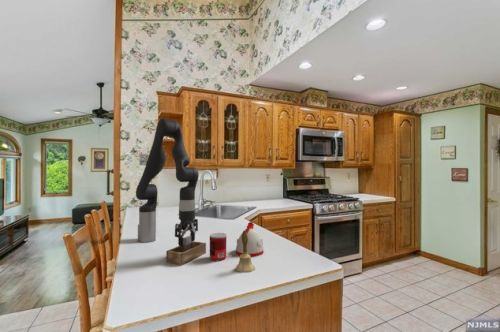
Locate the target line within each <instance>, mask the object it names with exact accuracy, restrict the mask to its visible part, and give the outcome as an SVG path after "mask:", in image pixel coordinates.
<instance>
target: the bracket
mask: <svg viewBox="0 0 500 332" xmlns="http://www.w3.org/2000/svg"><path fill="white" fill-rule="evenodd" d="M189 249H191V236H190V235H187V236H185V237H184V236H183V252H185V251H187V250H189ZM183 252H182V253H183Z"/></svg>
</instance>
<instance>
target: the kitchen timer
mask: <svg viewBox="0 0 500 332" xmlns="http://www.w3.org/2000/svg"><path fill="white" fill-rule="evenodd" d="M254 226H255V223H254V222H253V221H251V222H248V223H247V225H246V228H245V230H246V232H247V235H248V242H247V254H249V255H250V256H251V258H254V257H255V258H256V257H259V256H261V255H263V254H264V240H263V238H261V236H260V234H258V232H257V231H256V230H255V229H254ZM242 234H243V232H242V233H241V234H240V235H239V237H238V238H237V239H236V246H235V253H236V255H237V256H239V257H240V255H242V254H243V243H242Z"/></svg>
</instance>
